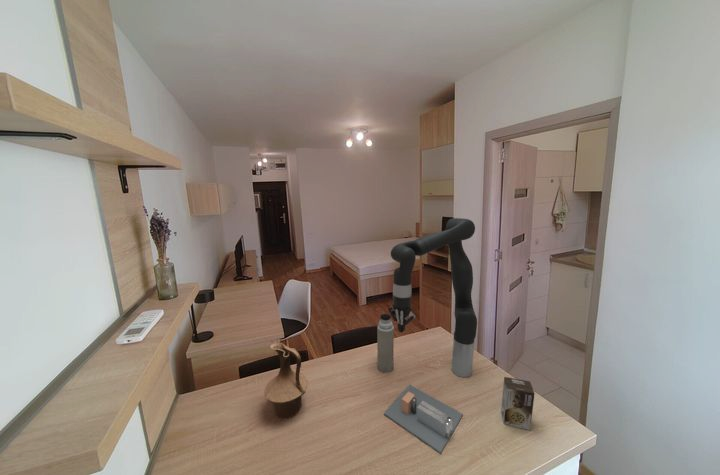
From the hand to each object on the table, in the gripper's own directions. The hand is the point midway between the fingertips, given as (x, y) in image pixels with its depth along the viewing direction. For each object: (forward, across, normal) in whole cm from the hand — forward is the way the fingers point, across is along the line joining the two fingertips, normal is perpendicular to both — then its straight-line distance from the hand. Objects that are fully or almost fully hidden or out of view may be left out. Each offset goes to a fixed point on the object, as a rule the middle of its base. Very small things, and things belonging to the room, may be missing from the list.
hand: (401, 331), depth 112 cm
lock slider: (+28, +8, -7) cm, 30 cm away
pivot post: (+29, +11, -7) cm, 32 cm away
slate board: (+29, +14, -5) cm, 33 cm away
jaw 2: (+28, +20, -8) cm, 35 cm away
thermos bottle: (+29, -14, +8) cm, 33 cm away
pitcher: (+29, -30, -38) cm, 57 cm away
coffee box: (+29, +42, +16) cm, 54 cm away
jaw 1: (+28, +20, -6) cm, 35 cm away
